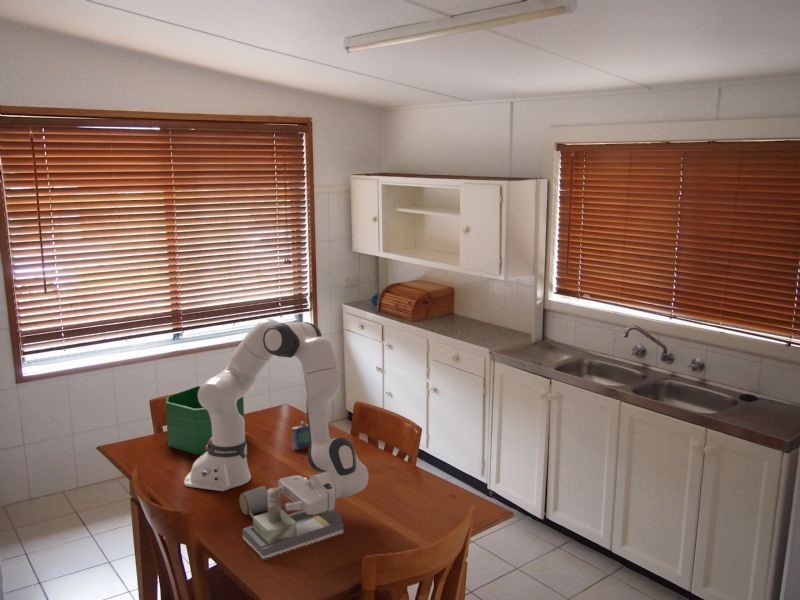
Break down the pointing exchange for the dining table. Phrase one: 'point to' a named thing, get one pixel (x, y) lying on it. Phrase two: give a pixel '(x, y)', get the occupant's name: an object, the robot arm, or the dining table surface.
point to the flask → (300, 437)
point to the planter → (190, 421)
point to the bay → (298, 533)
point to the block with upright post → (274, 521)
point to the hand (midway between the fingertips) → (278, 501)
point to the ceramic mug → (254, 501)
